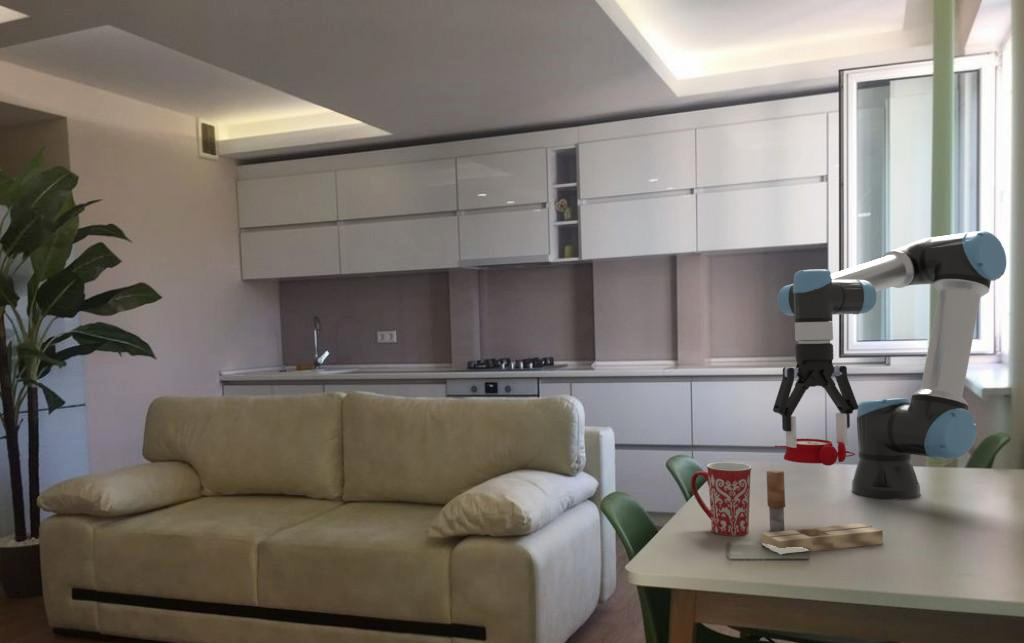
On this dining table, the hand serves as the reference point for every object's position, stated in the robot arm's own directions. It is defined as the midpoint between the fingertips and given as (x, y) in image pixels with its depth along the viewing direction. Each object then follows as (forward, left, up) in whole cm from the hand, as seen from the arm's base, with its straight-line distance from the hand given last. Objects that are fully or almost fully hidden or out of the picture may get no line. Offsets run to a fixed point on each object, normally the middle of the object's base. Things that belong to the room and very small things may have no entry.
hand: (816, 445), depth 164 cm
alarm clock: (0, 0, -4) cm, 4 cm away
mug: (+22, -1, -17) cm, 27 cm away
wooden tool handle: (+12, +3, -16) cm, 20 cm away
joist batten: (+10, +15, -16) cm, 24 cm away
